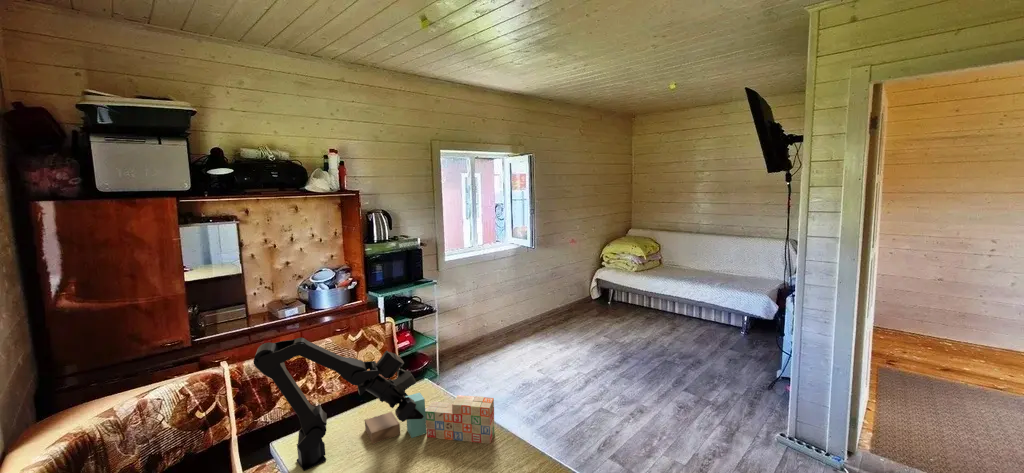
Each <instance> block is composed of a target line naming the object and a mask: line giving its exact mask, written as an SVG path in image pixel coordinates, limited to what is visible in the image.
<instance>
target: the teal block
mask: <svg viewBox="0 0 1024 473" xmlns="http://www.w3.org/2000/svg"><path fill="white" fill-rule="evenodd" d="M407 397H409V398H411V399H412V400H414V402H415V403H416V409H417V410H418V411H419V412H420V413H421V414H422V415H423V416H424V417H423V418H422V419H408V420H406V431H407V432H408V434H409V436H410V438H411V439H413V438H415V437H419V436H422V435H425V434H426V435H427V428H426V415H425V409H426V399H425V398H424V396H423V395H422V394H421V392H416V393H413V394H408V396H405V398H407Z"/></svg>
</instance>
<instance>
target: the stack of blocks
mask: <svg viewBox="0 0 1024 473" xmlns="http://www.w3.org/2000/svg"><path fill="white" fill-rule="evenodd" d="M494 401H495V400H494V397H485V396H480V395H479V396H478V395H476V396H475V395H460V394H459V395H458V394H457V395H456V397H455V399H454V401H453V402H440V401H431V402H430V404H429V405H428V407H426V408H427V410H426V411H425V414H426V438H434V439H439V440H449V441H450V440H451V441H460V442H461V441H463V442H472V443H480V444H481V443H482V444H488V445H489V444H491V442H492V440H493V438H494V434H495V402H494Z"/></svg>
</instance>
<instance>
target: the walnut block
mask: <svg viewBox="0 0 1024 473" xmlns="http://www.w3.org/2000/svg"><path fill="white" fill-rule="evenodd" d="M364 426H365V427H364V430H365V432H366V434H367V436H368V439H369V440H370V442H371V444H372V445H374V444H377V443H379V442H383V441H385V440H388V439H391V438H394V437H397V436H400V435H401V425H400V422H399V421H398V418H397V417H396V415H395V414H394V413H393V412H392V411H389V412H385V413H383V414H380V415H376V416H372V417H370V418H367V419H364Z"/></svg>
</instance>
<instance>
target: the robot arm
mask: <svg viewBox="0 0 1024 473" xmlns="http://www.w3.org/2000/svg"><path fill="white" fill-rule="evenodd" d="M299 356H300V357H302V358H305V359H306V360H309V361H311V362H314V363H316V364H317V365H321V366H323V367H324V368H326V369H329V370H331V371H334V372H335V373H337V374H339V376H340V377H341V378H342V379H344V380H345V381H346V382H347V383H349V384H350V385H353V386H356V387H357V391H358V394H359V396H362V395H363V394H364V393H365V392H366V391H367V392H368V393H370V395H371V394H372V395H373V396H374V397H376V398H378V400H379V401H380V402H381V403H387V404H388V405H389V407H390V408H391V409H394V407H395V406H397V407H396V408H395V409H394V410H395V414H394V415H395V417H396V419H397V420H399V421H400V422H402V423H404V422H405V421H407V420H408V419H422V418H423V417H424V416H423V415H422V414H421V413H420V412H419V411H418V410H417V409H416V403H415V402H414V400H412V399H411V398H409V397H407V398H405V396H409V394H407V392H406V391H407V389H409V388H411V386H414V385H415V384H416V383H417V380H416V378H415V377H414V375H413V374H412V373H411V371H410V370H408V369H406V370H405V369H403V368H401V367H403V365H404V364H405V362H404V360H403V359H402V358H401V357H400V356H399V355H398V354H396V353H394V352H392V351H389V350H385V351H384V353H383V354H382V356H381V357H380V358H379V360H378V361H377V362H376V361H375V360H370V361H367V360H366V361H363V360H361V359H358V358H355V357H345V356H341V355H339V354H337V353H335V352H332V350H328V349H326V348H324V347H322V346H320V345H317V344H315V343H314V342H311V341H309V340H308V339H306V338H304V337H298V338H293V339H289V340H288V339H287V340H279V341H276V342H269V341H268V342H264V343H262V344H261V345H259V346H258V347H257V350H256V352H255V355H254V358H253V361H252V362H253V365H254V367H255V368H256V369H257V370H258V371H260V373H261V374H263V375H264V376H266V377H267V378H269V379H271V381H273V383H274V384H275V386H276V387H277V389H278V390H279V391H280V393H281V395H282V396H283V398H285V400H286V402H288V404H289V406H290V407H291V408H292V410H293V411H294V413H295V414H296V416H297V417H298V419H299V424H300V427H301V428H300V429H299V430H298V437H297V444H296V447H297V448H296V449H297V459H296V463H297V464H298V466H299V467H300V468H301V469H302V470H303V471H307V470H308V469H311V468H313V467H316V466H317V465H320V464H322V463H324V462H326V461H327V457H326V444H325V442H324V441H323V438H324V437H325V435H326V433H327V425H328V424H327V422H328V421H327V420H328V418H327V412H325V411H324V410H323V409H322V406H321V404H318V405H317V406H314V405H312V404H311V403H310V401H309V399H308V398H307V397H306V395H305V394H304V392H303V391H302V389H301V388H300V387H299V385H298V384H297V382H296V381H295V379H294V378H293V376H292V374H291V373H290V372H289V370H288V369H287V367H286V365H285V364H286V363H285V362H287V361H289V360H291V359H293V358H296V357H299ZM395 375H396V376H395ZM394 376H395V378H394V379H392V378H393V377H394Z"/></svg>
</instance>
